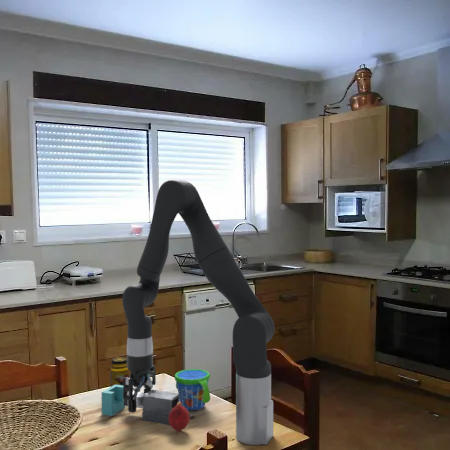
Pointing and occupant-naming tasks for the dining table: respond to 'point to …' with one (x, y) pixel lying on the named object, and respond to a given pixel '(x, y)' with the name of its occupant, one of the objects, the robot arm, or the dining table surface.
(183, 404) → the snack cup
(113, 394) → the socket
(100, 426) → the dining table surface
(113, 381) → the condiment
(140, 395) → the slip tube
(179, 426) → the onion
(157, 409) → the sleeve
